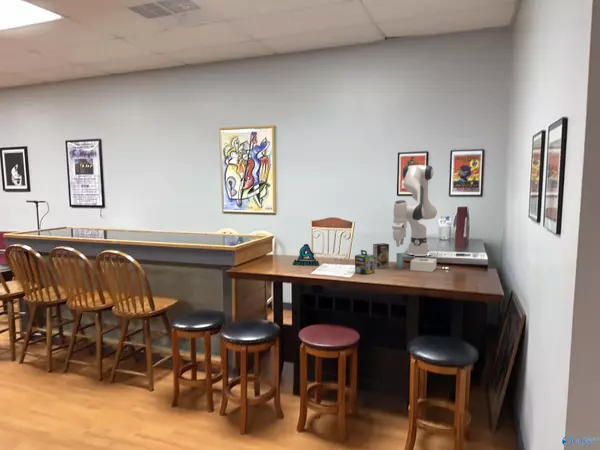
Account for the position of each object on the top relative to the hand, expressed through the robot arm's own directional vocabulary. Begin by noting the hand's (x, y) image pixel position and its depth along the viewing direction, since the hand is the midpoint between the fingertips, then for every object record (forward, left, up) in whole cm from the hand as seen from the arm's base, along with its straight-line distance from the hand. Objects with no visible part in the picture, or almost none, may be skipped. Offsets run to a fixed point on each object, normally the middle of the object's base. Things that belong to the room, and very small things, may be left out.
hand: (399, 245), depth 276 cm
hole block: (-4, +15, -15) cm, 22 cm away
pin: (0, 0, -15) cm, 15 cm away
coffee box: (+3, -12, -16) cm, 20 cm away
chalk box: (+22, -17, -16) cm, 32 cm away
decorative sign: (+17, -62, -16) cm, 66 cm away
